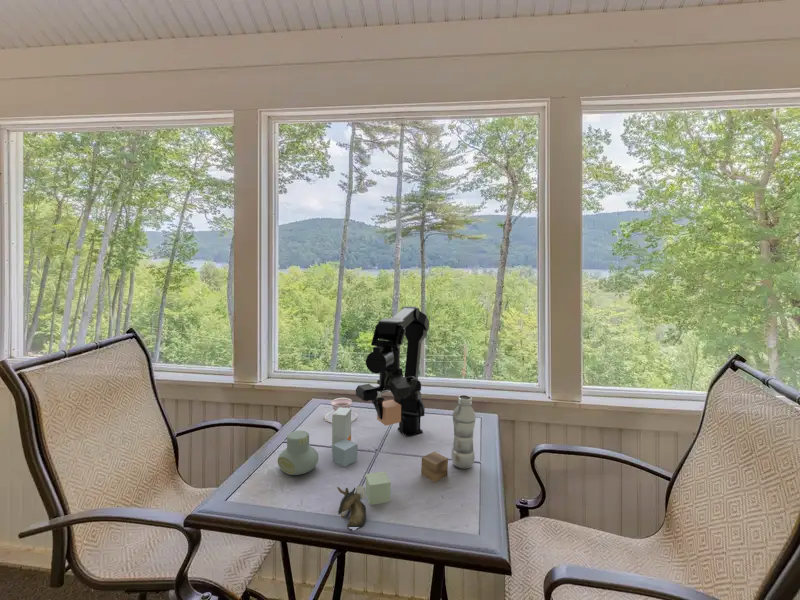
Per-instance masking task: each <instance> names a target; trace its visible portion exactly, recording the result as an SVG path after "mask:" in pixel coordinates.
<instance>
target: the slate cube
mask: <svg viewBox="0 0 800 600" xmlns="http://www.w3.org/2000/svg"><path fill="white" fill-rule="evenodd" d="M356 461H358V443H356V442H354V441H352V440H351V441H349V440H347V439H344V440H342V441H340V442H338V443H335V444H333V452H332V462H334V463H336V464H337V465H340V466H341V467H347V466H350V465H351V464H353V463H355V462H356Z"/></svg>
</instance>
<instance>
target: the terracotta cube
mask: <svg viewBox="0 0 800 600" xmlns="http://www.w3.org/2000/svg"><path fill="white" fill-rule="evenodd" d="M376 416H377V417H376V420H377V421H379V422H380V423H381V424H383V425H384V426H390V425H394V424H395V425H396V424H397V423H398V424H399V422H401V405H400V404H399V403H397V402H395V401H394V399H389V400H384V401H383V417H382V419H380V418H379V416H378V414H376Z"/></svg>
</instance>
